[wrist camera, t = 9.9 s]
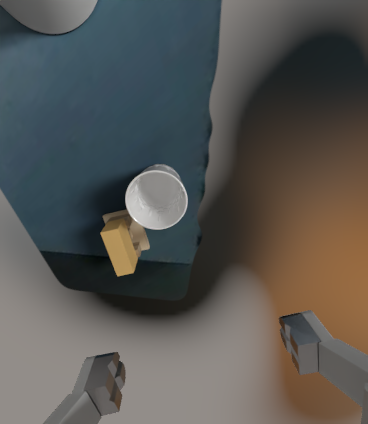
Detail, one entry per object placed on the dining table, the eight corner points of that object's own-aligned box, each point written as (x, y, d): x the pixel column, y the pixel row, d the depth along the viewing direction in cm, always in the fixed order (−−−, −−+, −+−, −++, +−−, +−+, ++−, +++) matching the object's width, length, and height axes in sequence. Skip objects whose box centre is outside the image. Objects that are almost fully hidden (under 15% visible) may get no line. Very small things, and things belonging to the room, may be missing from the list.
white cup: (139, 206, 39) (128, 231, 30) (134, 160, 36) (121, 171, 27) (184, 204, 39) (188, 228, 30) (183, 159, 37) (186, 169, 27)
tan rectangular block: (107, 222, 35) (99, 232, 32) (123, 218, 35) (117, 228, 32) (122, 262, 38) (116, 276, 34) (137, 258, 38) (133, 272, 34)
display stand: (104, 214, 39) (96, 223, 35) (137, 206, 39) (133, 214, 35) (118, 253, 42) (113, 265, 38) (149, 246, 42) (147, 257, 38)
